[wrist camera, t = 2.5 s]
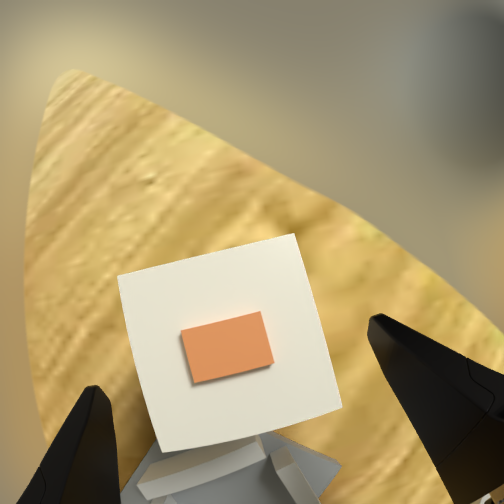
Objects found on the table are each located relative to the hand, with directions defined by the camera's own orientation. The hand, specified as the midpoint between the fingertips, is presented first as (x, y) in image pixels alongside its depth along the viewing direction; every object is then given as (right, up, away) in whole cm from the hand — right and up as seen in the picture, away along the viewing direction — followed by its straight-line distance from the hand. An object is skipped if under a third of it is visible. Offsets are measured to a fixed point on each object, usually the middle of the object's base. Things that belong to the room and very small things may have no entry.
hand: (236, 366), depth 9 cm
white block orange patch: (-1, -1, +8) cm, 9 cm away
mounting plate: (-1, -11, +6) cm, 12 cm away
